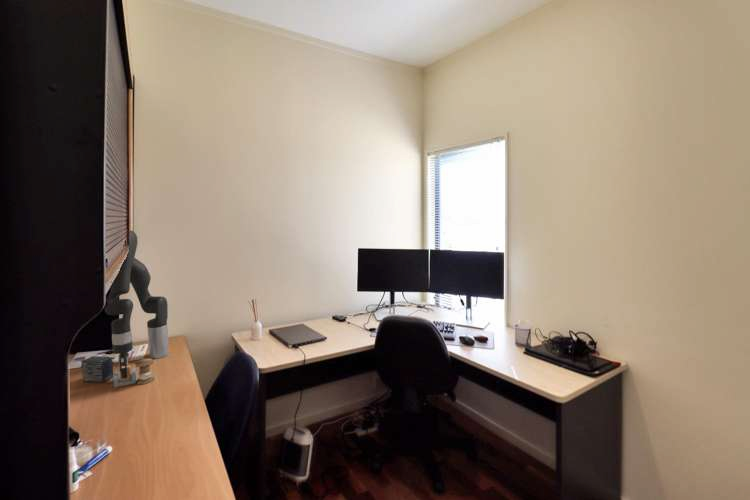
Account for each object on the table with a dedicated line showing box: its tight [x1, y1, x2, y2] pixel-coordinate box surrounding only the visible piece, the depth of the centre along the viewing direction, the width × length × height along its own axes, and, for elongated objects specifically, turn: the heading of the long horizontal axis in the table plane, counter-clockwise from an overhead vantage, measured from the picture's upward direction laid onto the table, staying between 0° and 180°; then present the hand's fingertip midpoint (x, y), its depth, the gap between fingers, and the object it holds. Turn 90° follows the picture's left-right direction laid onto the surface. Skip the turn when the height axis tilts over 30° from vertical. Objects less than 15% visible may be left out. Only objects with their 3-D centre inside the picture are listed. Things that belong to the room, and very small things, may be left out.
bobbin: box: [135, 357, 155, 385], centre depth 169 cm, size 7×7×10 cm
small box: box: [81, 355, 114, 384], centre depth 170 cm, size 11×6×10 cm, turn 84°
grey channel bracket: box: [112, 366, 137, 388], centre depth 168 cm, size 8×8×4 cm
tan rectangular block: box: [118, 364, 132, 381], centre depth 168 cm, size 3×4×6 cm
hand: (125, 374), depth 168 cm, fingers open, 8 cm apart
